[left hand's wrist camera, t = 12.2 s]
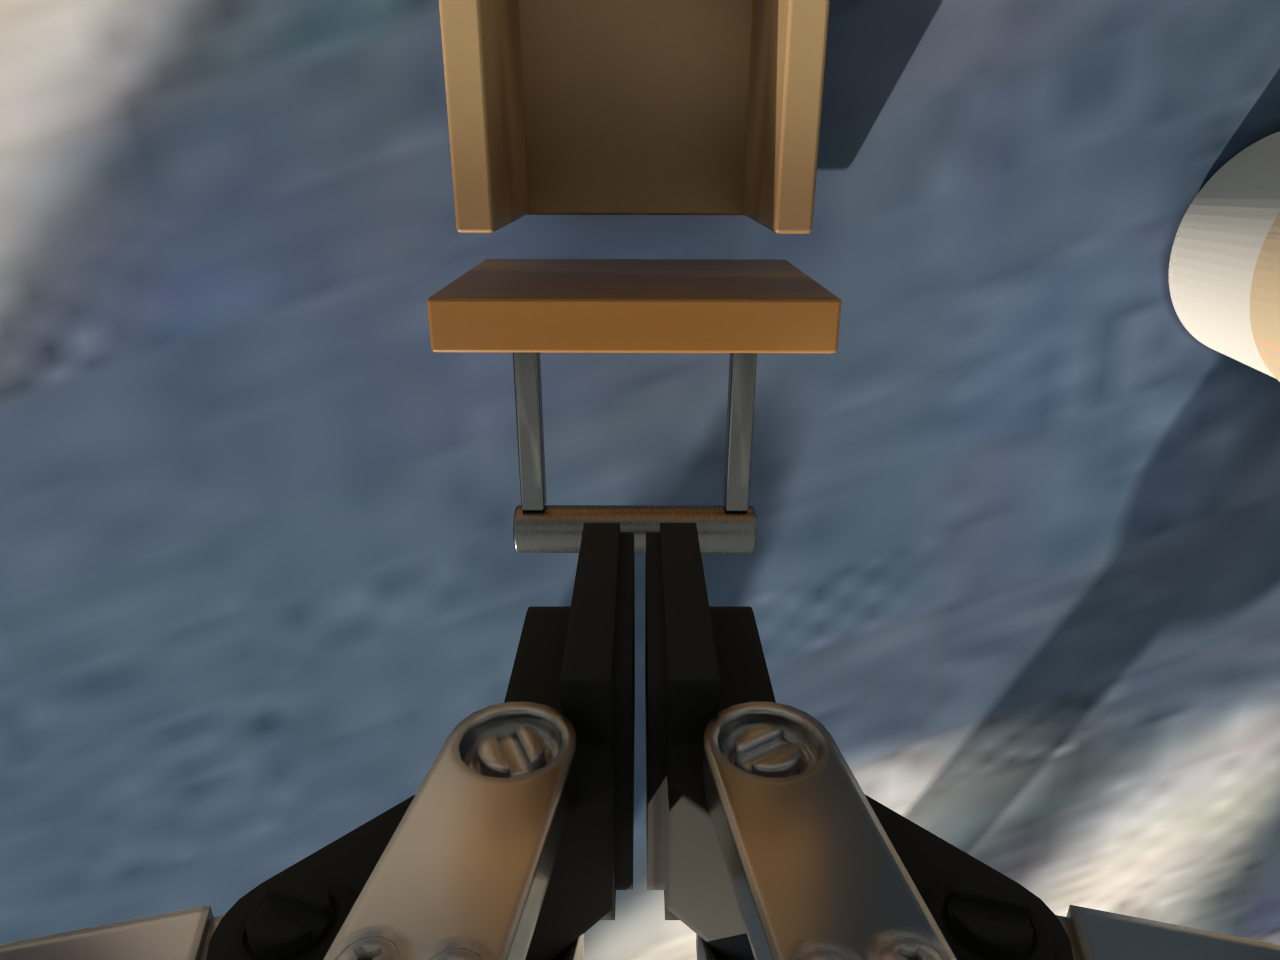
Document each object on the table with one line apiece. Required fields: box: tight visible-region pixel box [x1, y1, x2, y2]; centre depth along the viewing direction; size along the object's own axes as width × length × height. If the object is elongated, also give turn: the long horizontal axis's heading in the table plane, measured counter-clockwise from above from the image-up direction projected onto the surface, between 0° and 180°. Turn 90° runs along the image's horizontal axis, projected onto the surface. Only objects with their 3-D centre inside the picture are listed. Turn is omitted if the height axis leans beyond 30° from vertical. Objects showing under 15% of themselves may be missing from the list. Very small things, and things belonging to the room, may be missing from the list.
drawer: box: [427, 0, 842, 553], centre depth 19 cm, size 24×9×7 cm, turn 0°
